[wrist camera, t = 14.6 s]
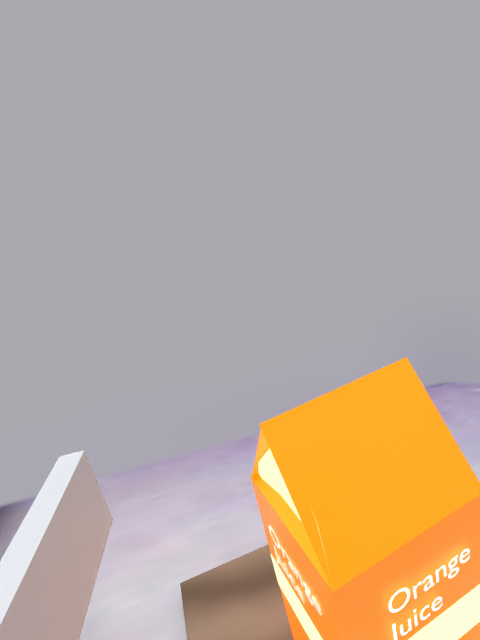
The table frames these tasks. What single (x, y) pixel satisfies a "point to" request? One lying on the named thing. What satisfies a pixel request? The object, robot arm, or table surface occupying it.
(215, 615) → the board
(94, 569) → the robot arm
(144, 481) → the table surface
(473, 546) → the orange juice
